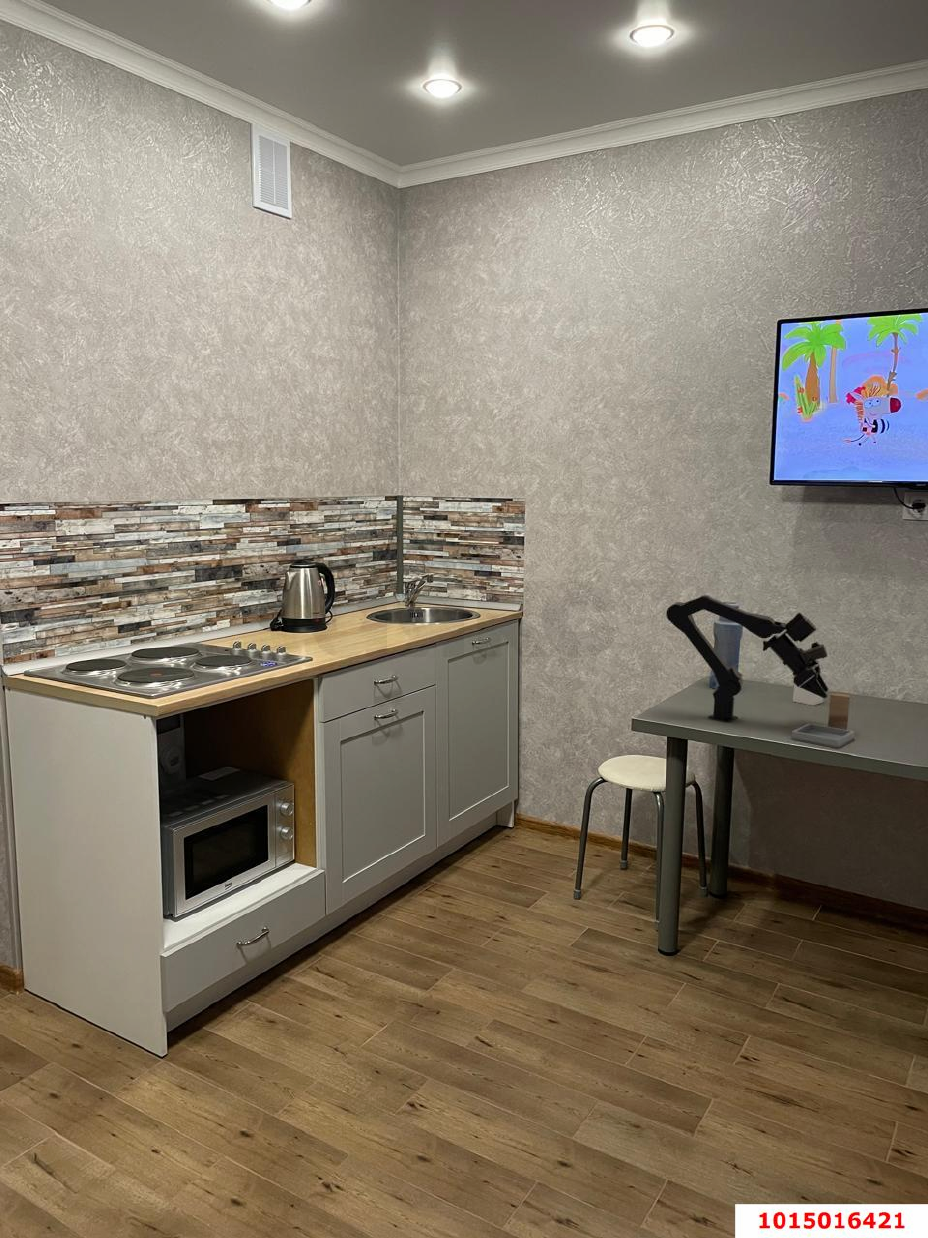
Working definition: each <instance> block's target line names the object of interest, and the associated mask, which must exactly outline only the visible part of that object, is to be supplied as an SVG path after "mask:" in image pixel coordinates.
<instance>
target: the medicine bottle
mask: <svg viewBox="0 0 928 1238" xmlns="http://www.w3.org/2000/svg"><path fill="white" fill-rule="evenodd" d="M816 666H817V665H815V666H814V667H816ZM819 673H820V674H821V668H820V667H819ZM792 702H793V703H798V704H802V705H803V704H804V705H808V706H812V707H813V706H816V705H817V706H818V705H819V704H823V703H824V698H822V697H820V696H818V695H816V694H814V693H812V692H809V691H807V690H805V689H803V688H800V686H799V687H797V686H796V684H795V683H794V682H793V693H792Z"/></svg>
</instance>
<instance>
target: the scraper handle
mask: <svg viewBox="0 0 928 1238" xmlns="http://www.w3.org/2000/svg"><path fill="white" fill-rule="evenodd" d="M850 695H851V693H850V692H849V693H848V692H840V691H831V692H830V696H829V698H830V699H829V706H828V707H829V708H828V709H829V710H828V722H827V727H833V728H838V729H843V730H848V721H849V710H850V709H849V707H850V698H851V696H850Z"/></svg>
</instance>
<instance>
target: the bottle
mask: <svg viewBox="0 0 928 1238" xmlns="http://www.w3.org/2000/svg"><path fill="white" fill-rule="evenodd" d="M722 602H723V603H726V604H728V605H730V606H733V607H735V608H738V609H740V605H739V604H738V603H737V601H736V600H727V599H726V600H724V601H722ZM718 616H719V615H718ZM712 628H713V630H712V633H713V638H714V640H713V641H714V643H713V648H714V649H715V651H716V652H717V653H718V655H719V656H720V657H721V659H722V660H723V661H724V663H725V664H727V665H728V666H729V667H732V666H733V665H735V666H736V668H737V670H738V671H739V666H740V665H739V664H740V663H739V661H740V653H741V652H740V651H741V650H740V649H741V640H742V637H743V634H744V633H743V631H744V626H742V625H740V624H738V623H735V622H733V621H731V620H728V619H726V618H723V617H721V616H719V617H718V619H716V620H714V621H713V627H712ZM708 685H709V687H710V688H712V689H714V690H716V688H717V687H718V686H719V684H718V682H717V679H716V677H715V674H714V672H713V670H712V669H711V671H710V673H709V684H708Z"/></svg>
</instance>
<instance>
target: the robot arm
mask: <svg viewBox="0 0 928 1238" xmlns="http://www.w3.org/2000/svg"><path fill="white" fill-rule="evenodd" d="M723 602H724V601H721V600H718V599H716V598H713V597H711V596H710V595H708V594H703V595H701V596H700V597H696V598H694V599H691V600H689V601H686V602H680V601H679V602H675V603H673V604H671V605H670V606H669V607H668V608H667V610H666V615H665V616H666V618H667V620H668V622H670V623H671V624H672V625H673V626H674V627H675V628H677V630H679V631H680V632H682V633H683V634H684V635H685V636H686V638H688V640H689V641H690V642H691V645H692V646H693V647H694V648H695V649H696V651H697V652H698V653H699V655H700V656H701V657H702V659H704V661H705V662H706V664H707V666H709V668H710V669H711V670H713V672H714V674H715V677H716V679H717V682H718V684H719V686H718V687H717V688H716V689H714V691H713V693H712V696H713V714H711V715H708V718H709V719H712V720H717V721H721V722H722V721H723V722H727V723H728V722H732V721H735V720H737V719H738V717H739V716H737V715H734V708H735V707H734V706H735V696H736V695H738V694H739V693H740V692H741V690H742V688H743V687H744V679H743V674H742V673H740V672H739V669H738V670H737V668H736V666H735V665H733V666H732V667H729V666H728V665H727V664H725V663H724V661H723V660H722V659H721V657H720V656H719V655H718V653H717V652H716V651H715V649H714V646H713V645H712V644H711V643H710V641H709V640H708V639H707V638H706V636H705V635H704V634H703V633H702V631H701V630H700V628H699V627H698V626H697V623H696V621H695V619H694V616H693V615H694V614H696V613H699V612H700V611H706V612H708V613H712V614H714V615H716V616H721V617H723V618H726V619H728V620H731V621H733V622H735V623H738V624H740V625H742V626H743V628H745V629H746V630H748V631H749V632H750V633H752V634H753V635H755V636H756V637H758V638H761V639H768V638H770V637H771V638H770V639H769V640H763V641H762V646H763V647H762V651H763V652H765V651H767V650H768V649H771V650H772V651H773V652H774V653H775V655H776V656H778V658H779V659H780V660H781V661H782V664H783V666H786V667H787V668H788V669H789V670H790V671H791V672H792V675H793V682H792V683H793V684H794V683H795V684H796V686H797V687H799V686H800V688H803V689H805V690H807V691H809V692H812V693H814V694H816V695H818V696H820V697H822V698H823V699H826V698H827V697H828V695H827V692H828V691H829V687H828V685H827V683H826V682H825V680H824V678H823V677H822V675H821V672H820V673H819V668H820V664H819V661H818V660H819V659H825V658H827V657H828V651H827V649H826V647H825V644H823V643H822V644H819V642H818V641H816V642H813V643H811V647H810V648H807V649H805V650H804V649H803V648H802V647H798V646H797V645H796V644H795V643H796V642H798V641H799V642H800V643H802V642H803V641H805V640H806V639H807V638H809V637H810V636H811V635H812V634H813V633H815V632H816V631H817V627H816V626H815V624H814V623H813V622H812V621H811V620H810V619H809V618H807V617H806V616H805V615H804V614H802V612H798V613H797V614H795V616H794V617H793V618H791V619H790V620H789V621H788V622H780V621H777V620H776V621H775V619H773V617H771V616H768V615H763V614H758V613H753V612H747V611H745V610H742V609H740V608H739V609H738V608H735V607H733V606H730V605H728V604H726V603H723ZM778 634H779V636H778ZM814 666H816V667H814Z"/></svg>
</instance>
